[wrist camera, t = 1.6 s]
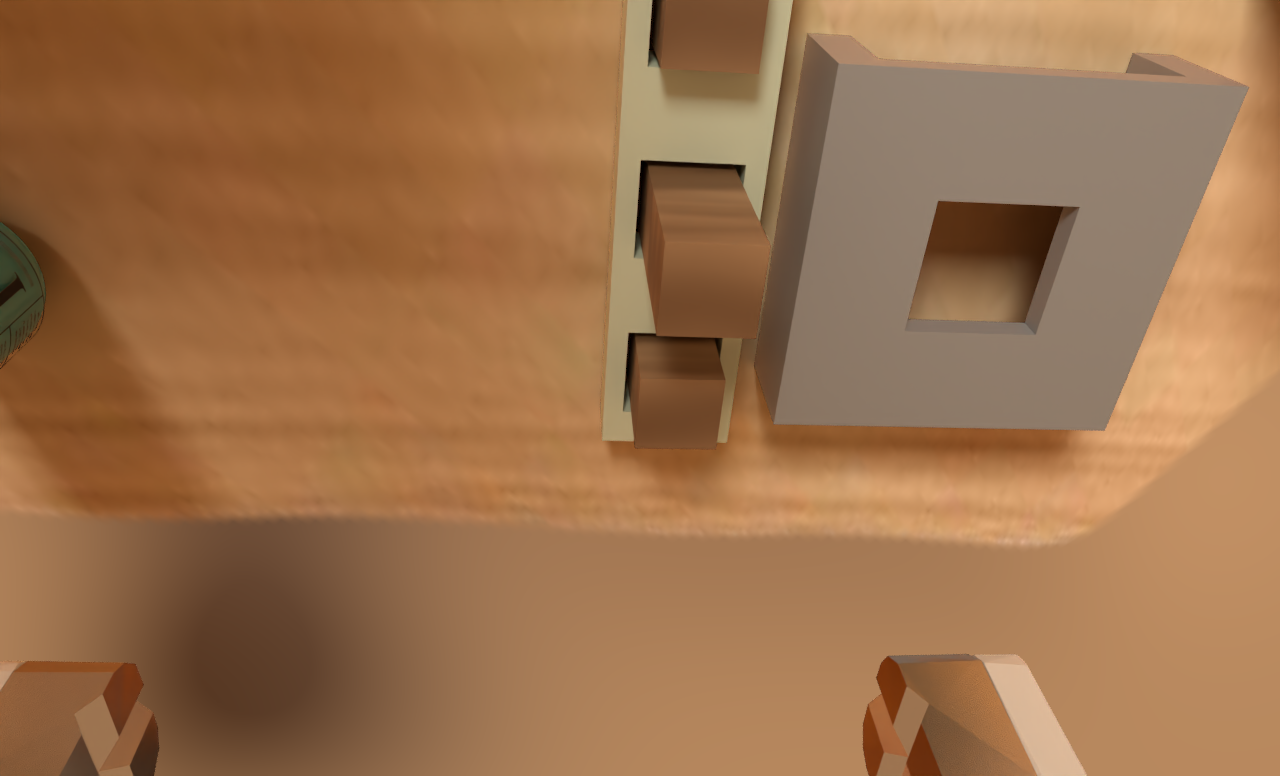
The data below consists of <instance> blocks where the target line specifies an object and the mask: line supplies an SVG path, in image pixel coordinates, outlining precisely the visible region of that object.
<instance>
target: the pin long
mask: <svg viewBox="0 0 1280 776" xmlns="http://www.w3.org/2000/svg"><path fill="white" fill-rule="evenodd" d="M638 229H639V235H640V241H641V247H642V253H643V259H644V265H645V271H646V277H647V283H648V289H649V295H650V300H651V306H652V312H653V318H654V324H655V330H656V336H674V337H710V338H745V339H756V336H757V330H758V324H759V317H760V311H761V305H762V298H763V292H764V286H765V279H766V273H767V267H768V260H769V254H770V248H771V245H770V243H769V241H768V239H767V237H766V235H765V232H764V230H763V228H762V226H761V224H760V221H759V219H758V217H757V215H756V213H755V211H754V208H753V206H752V204H751V202H750V200H749V198H748V195H747V193H746V191H745V189H744V187H743V184H742V182H741V180H740V178H739V176H738V174H737V171H736V169H735V167H734V165H733V164H717V163H695V162H674V161H652V160H643V161H642V175H641V189H640V203H639V216H638Z"/></svg>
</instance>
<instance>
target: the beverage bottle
mask: <svg viewBox="0 0 1280 776" xmlns="http://www.w3.org/2000/svg"><path fill="white" fill-rule="evenodd" d="M45 296H46V290H45V282H44V278H43V275H42V272H41V269H40V267H39V265H38V263H37V261H36V259H35V257H34V256H33V254H32V253H31V251H30V250H29V248H28V247H27V246H26V245H25V243H24V242H23V241H22V240H21V239H20V238H19V237H18V236H17V235H16V234H15V233H14V232H13V231H11V230H10V229H9V228H8V227H6V226H5V225H4V224H2V223H1V222H0V363H1V364H2V361H3V360H4V359H5V358H6V357H8V355H9V354H10V353H11V352H12V351H13V350H14V349H15V348H17V346H18V345H19V348H20V345H21V343H22V342H23V343H24V340H25V339H26V338H27V337H29V335H30V333H31V332H33V330H34V329H35V327H36V326H37V324H38V322H39V320H40V317H41V314H42V311H43V315H44V304H45ZM42 320H43V317H42ZM41 323H42V321H41ZM40 325H41V324H40ZM36 328H37V327H36ZM39 328H40V326H39ZM38 330H39V329H38ZM34 331H35V330H34ZM36 333H37V332H36ZM31 335H32V333H31ZM31 335H30V337H31ZM30 337H29V338H30ZM32 338H33V337H32ZM27 339H28V338H27ZM27 339H26V341H27ZM23 343H22V344H23ZM19 348H18V349H19ZM13 352H14V351H13ZM6 360H7V358H6ZM6 360H5V362H6ZM8 361H9V360H8ZM8 361H7V362H8ZM7 362H6V363H7ZM6 363H5V364H6ZM5 364H3V366H4V365H5ZM3 366H2V367H3ZM2 367H1V368H2ZM1 368H0V369H1Z"/></svg>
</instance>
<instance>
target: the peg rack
mask: <svg viewBox="0 0 1280 776" xmlns="http://www.w3.org/2000/svg"><path fill="white" fill-rule="evenodd" d="M792 3H793V0H769V4H768V11H767V18H766V25H765V33H764V40H763V47H762V55H761V62H760V69H759V74H746V73H729V72H711V71H693V70H675V69H661V67H660V65H659V62H658V59H657V56H656V54H655V51H651V50H649V39H650V25H651V11H652V0H623V5H622V24H621V42H620V60H619V78H618V96H617V114H616V132H615V150H614V168H613V186H612V204H611V222H610V240H609V258H608V276H607V294H606V312H605V330H604V348H603V366H602V384H601V402H600V414H601V432H602V441H634V435H633V426H632V416H631V407H630V398H629V388H628V380H625V374H626V360H627V346H628V333H656V330H655V324H654V318H653V312H652V306H651V300H650V295H649V289H648V283H647V277H646V271H645V265H644V259H643V253H642V247H641V241H640V235H639V232H636V220H637V206H638V193H639V179H640V165H641V160H652V161H674V162H695V163H717V164H733V165H734V167H735V169H736V171H737V174H738V176H739V178H740V180H741V182H742V184H743V187H744V189H745V191H746V193H747V195H748V198H749V200H750V202H751V204H752V206H753V208H754V211H755V213H756V215H757V217H758V219H759V221H760V218H761V211H762V204H763V198H764V191H765V184H766V178H767V171H768V164H769V157H770V151H771V144H772V137H773V131H774V124H775V117H776V111H777V104H778V97H779V90H780V84H781V77H782V70H783V64H784V57H785V50H786V44H787V37H788V30H789V23H790V17H791V10H792ZM714 340H715V343H716V347H717V351H718V354H719V358H720V361H721V365H722V369H723V372H724V376H725V379H726V383H725V390H724V397H723V404H722V411H721V418H720V425H719V432H718V439H717V443H727V439H728V432H729V426H730V419H731V412H732V406H733V399H734V392H735V385H736V379H737V372H738V365H739V359H740V352H741V345H742V338H714Z"/></svg>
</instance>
